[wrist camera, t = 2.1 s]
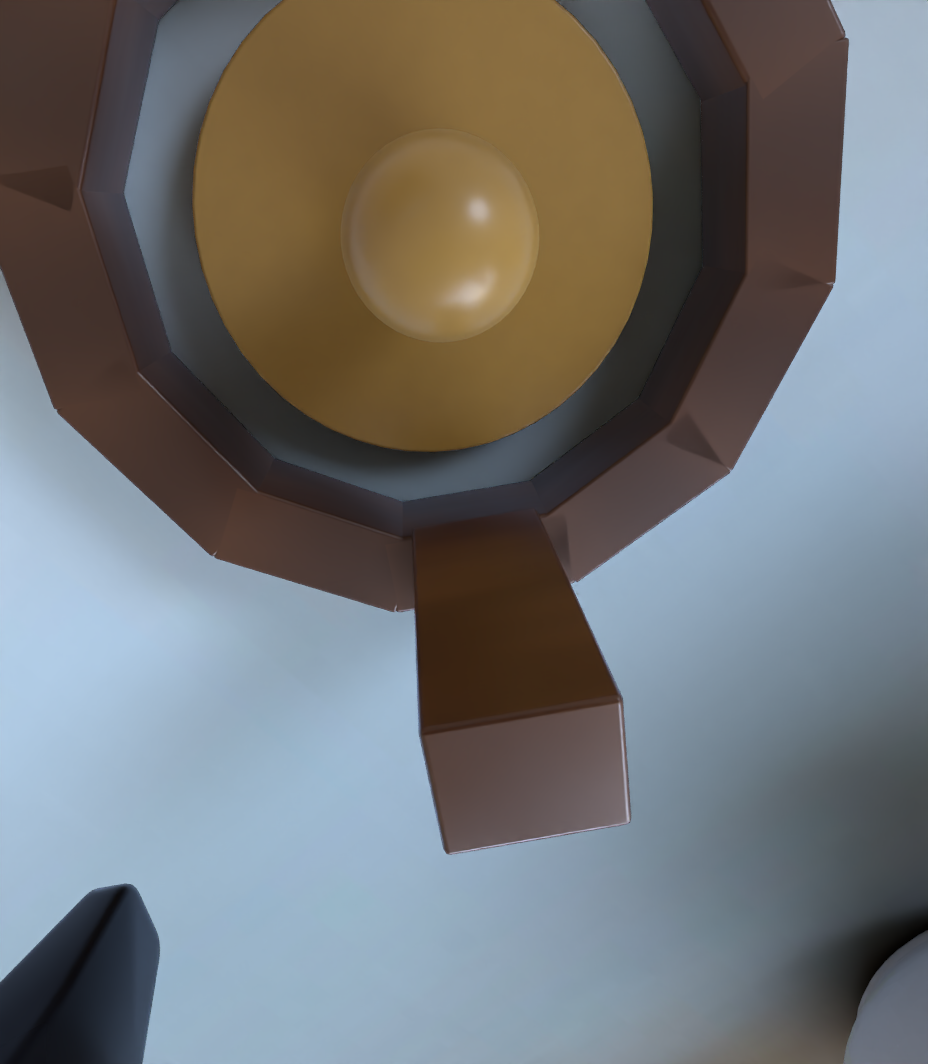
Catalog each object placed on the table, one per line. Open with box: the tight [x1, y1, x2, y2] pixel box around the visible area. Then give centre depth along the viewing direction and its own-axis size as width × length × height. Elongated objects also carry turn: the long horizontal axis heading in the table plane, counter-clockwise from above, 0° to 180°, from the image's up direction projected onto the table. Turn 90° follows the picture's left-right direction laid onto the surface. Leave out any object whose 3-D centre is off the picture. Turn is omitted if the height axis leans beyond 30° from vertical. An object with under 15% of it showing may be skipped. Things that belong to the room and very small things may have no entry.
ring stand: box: [192, 0, 653, 452], centre depth 11 cm, size 8×8×6 cm
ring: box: [0, 0, 849, 855], centre depth 10 cm, size 14×14×8 cm
